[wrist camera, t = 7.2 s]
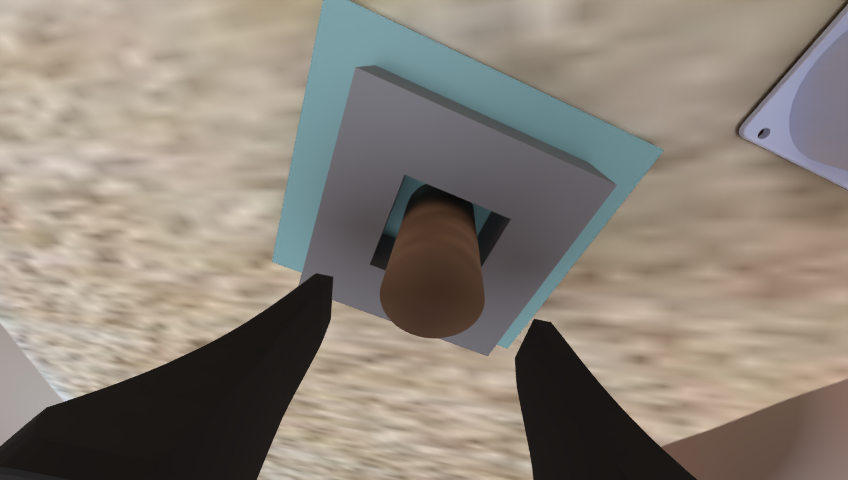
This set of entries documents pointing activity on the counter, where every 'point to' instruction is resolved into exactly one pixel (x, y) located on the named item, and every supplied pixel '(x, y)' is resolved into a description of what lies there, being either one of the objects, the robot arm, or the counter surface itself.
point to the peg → (434, 267)
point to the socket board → (460, 82)
